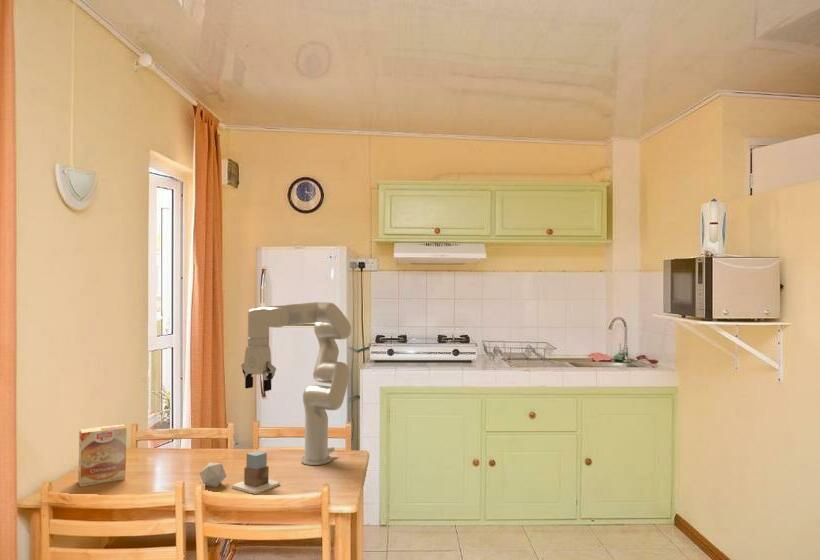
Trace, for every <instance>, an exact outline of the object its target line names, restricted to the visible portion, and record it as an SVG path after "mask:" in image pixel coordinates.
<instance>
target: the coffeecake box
mask: <svg viewBox="0 0 820 560" xmlns="http://www.w3.org/2000/svg"><path fill="white" fill-rule="evenodd" d="M78 433H79V435H78V436H79V437H78V439H79V440H78V442H79V444H78V475H77V478H78V479H77V481H78V484H79V487H80V488H81V487H87V486H88V487H89V486H92V485H98V484H105V483H109V482H116V481H121V480H126V472H127V471H126V463H127V462H126V461H127V460H126V459H127V427H126V425H125V424H124V423H123V424H114V425H107V426H106V425H103V426H96V427H89V428H80V429H79V431H78Z"/></svg>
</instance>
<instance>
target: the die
mask: <svg viewBox="0 0 820 560" xmlns="http://www.w3.org/2000/svg"><path fill="white" fill-rule="evenodd" d="M199 476H200V478H201V480H202V483H203V485H204V484H205V485H207V486H206V487H212V488H217V487H218V486H219V485H221V483H222V482H224V480H225V479H226V478H227V474H226V472H225V469H224V466H223V464H222V463H220V462H219V463H218V462H211V461H210V462H208V463H207V465H206V466H205V467H204V468H203V469H202V470H201V471H200V472H199Z"/></svg>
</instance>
